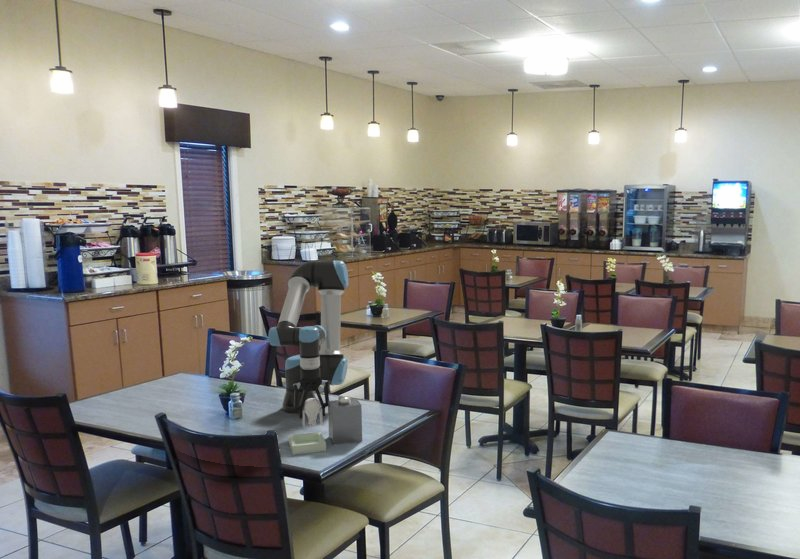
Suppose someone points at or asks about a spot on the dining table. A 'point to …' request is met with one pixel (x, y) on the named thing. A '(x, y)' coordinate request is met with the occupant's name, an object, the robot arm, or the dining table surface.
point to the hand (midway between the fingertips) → (312, 425)
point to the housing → (345, 420)
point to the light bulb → (312, 410)
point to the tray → (307, 443)
